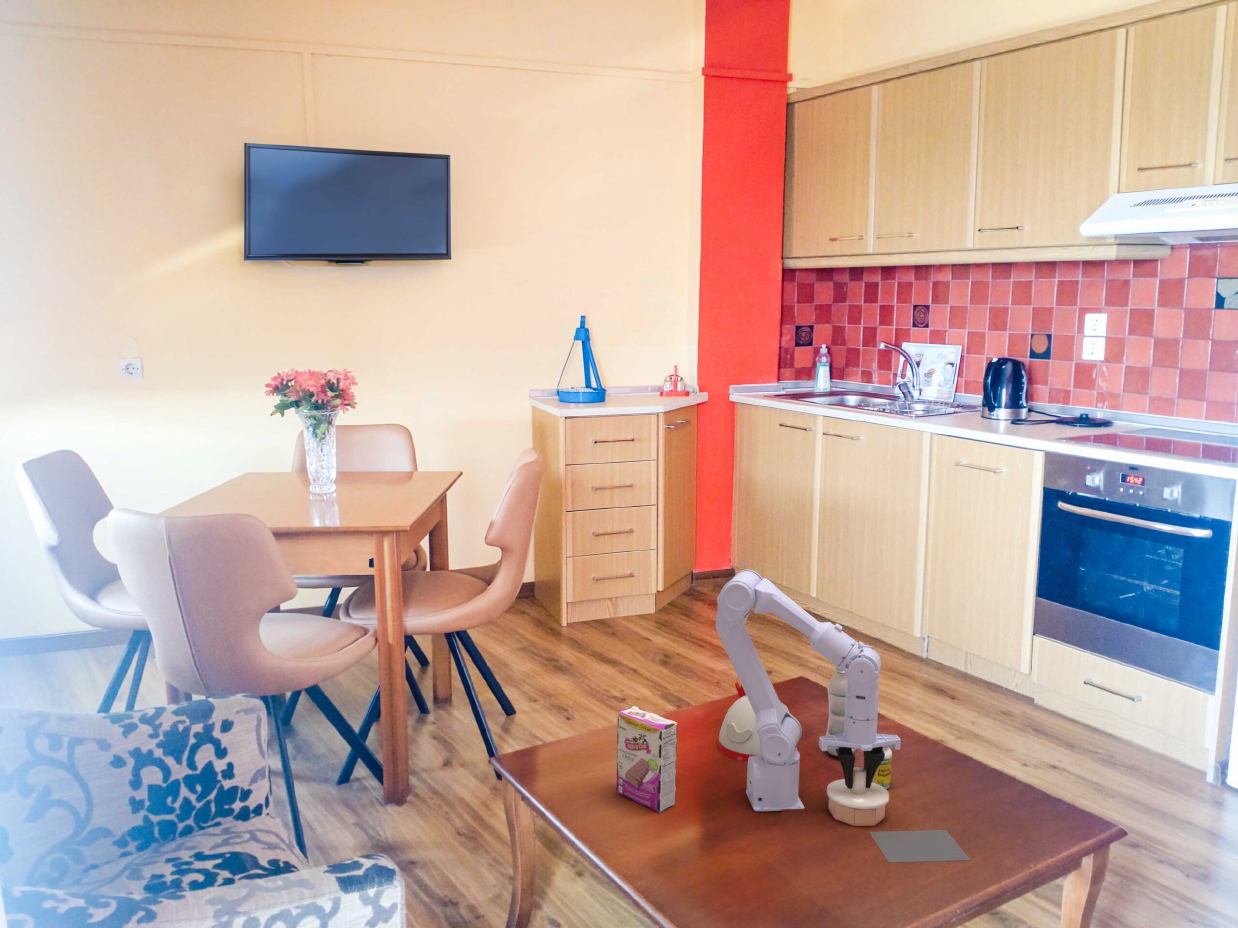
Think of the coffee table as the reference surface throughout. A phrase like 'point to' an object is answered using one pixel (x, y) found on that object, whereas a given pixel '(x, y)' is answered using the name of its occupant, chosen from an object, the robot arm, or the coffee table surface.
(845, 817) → the bowl
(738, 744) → the white and red dome
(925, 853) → the mat
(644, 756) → the candy bar box
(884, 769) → the supplement bottle
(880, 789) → the lid
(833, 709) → the plastic bottle
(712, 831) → the coffee table surface
